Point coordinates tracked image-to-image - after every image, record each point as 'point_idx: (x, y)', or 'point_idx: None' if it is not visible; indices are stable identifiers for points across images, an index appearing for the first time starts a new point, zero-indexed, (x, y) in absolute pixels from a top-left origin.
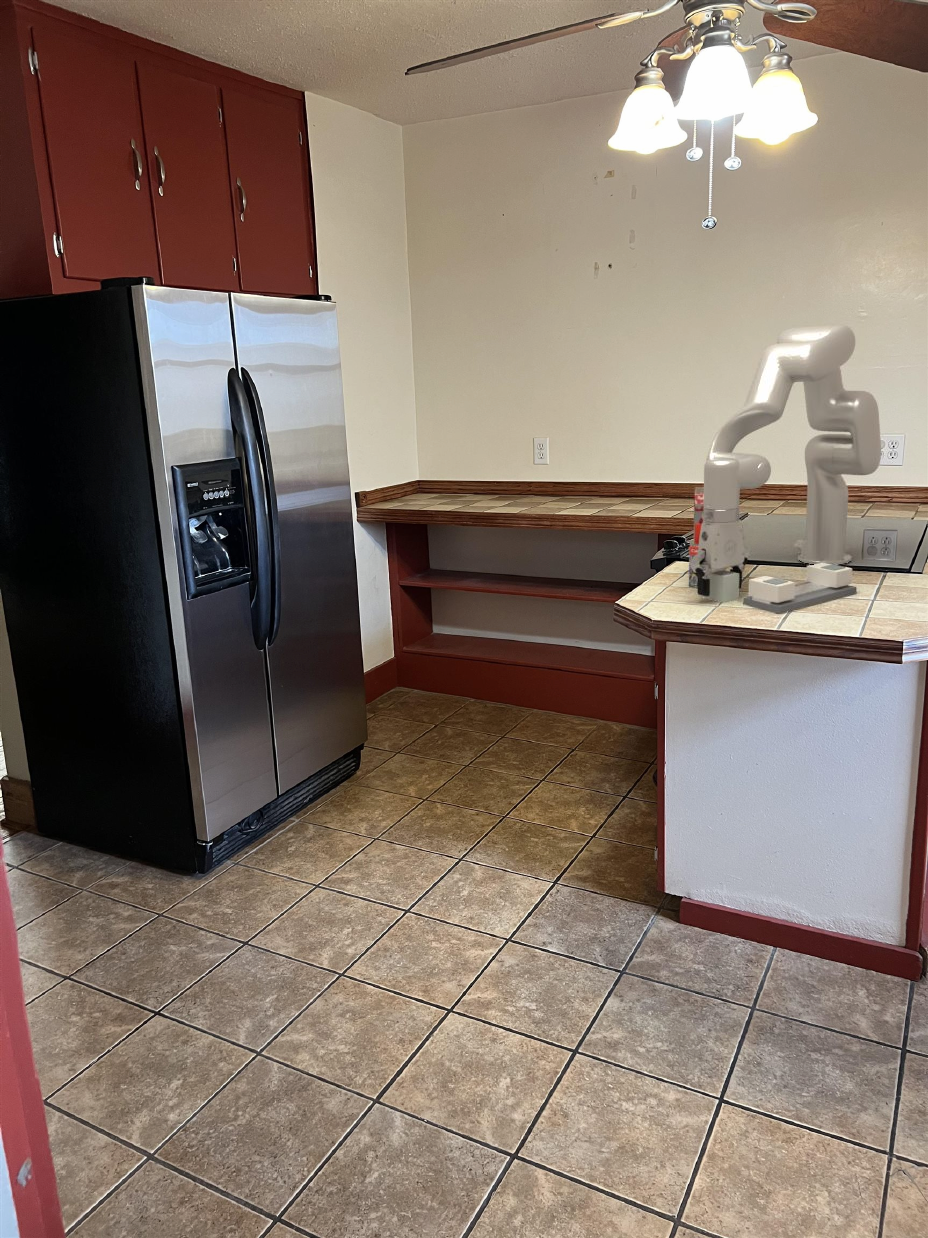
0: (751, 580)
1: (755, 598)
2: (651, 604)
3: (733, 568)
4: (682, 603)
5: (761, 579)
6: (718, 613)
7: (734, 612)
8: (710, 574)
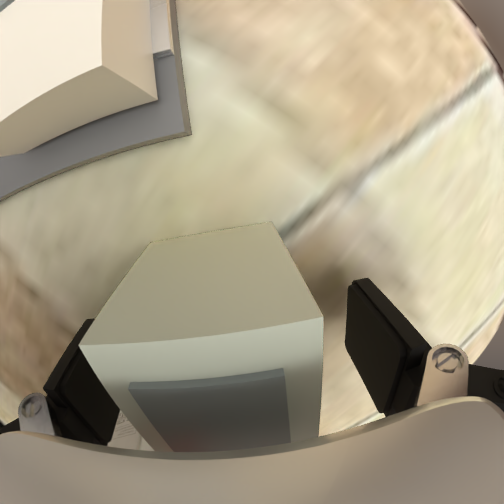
0: (103, 28)
1: (169, 23)
2: (460, 338)
3: (87, 442)
4: (410, 312)
5: (16, 43)
6: (410, 86)
7: (340, 42)
8: (316, 431)
